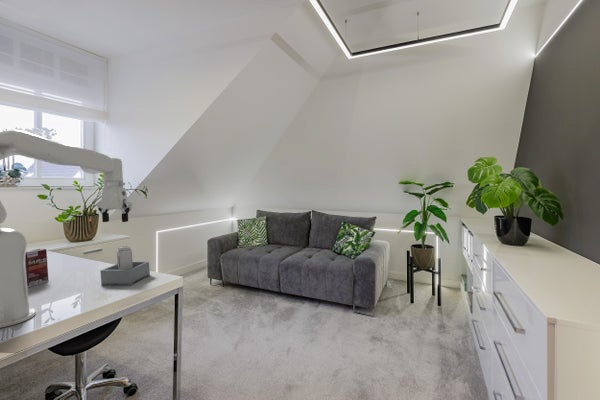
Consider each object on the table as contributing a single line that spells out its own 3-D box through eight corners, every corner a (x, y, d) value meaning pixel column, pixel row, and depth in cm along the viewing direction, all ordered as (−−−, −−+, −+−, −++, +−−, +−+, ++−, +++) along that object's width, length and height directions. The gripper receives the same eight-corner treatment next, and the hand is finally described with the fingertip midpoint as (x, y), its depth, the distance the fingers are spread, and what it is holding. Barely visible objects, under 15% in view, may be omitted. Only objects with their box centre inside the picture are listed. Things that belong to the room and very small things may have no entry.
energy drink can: (116, 278, 132) (114, 247, 131) (130, 275, 137) (128, 245, 136) (121, 281, 128) (119, 249, 127) (135, 277, 133) (133, 246, 132)
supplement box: (29, 287, 125) (26, 253, 124) (20, 287, 126) (17, 253, 125) (49, 281, 134) (47, 248, 133) (41, 280, 135) (39, 248, 134)
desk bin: (130, 285, 125) (129, 270, 124) (101, 285, 126) (100, 270, 126) (149, 275, 139) (148, 261, 138) (123, 275, 140) (122, 261, 140)
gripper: (136, 184, 131) (138, 220, 132) (102, 185, 133) (104, 220, 134) (125, 184, 124) (126, 222, 124) (89, 185, 125) (91, 222, 126)
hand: (115, 221), depth 129 cm, fingers open, 9 cm apart
